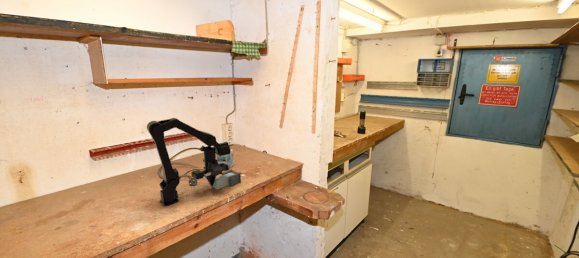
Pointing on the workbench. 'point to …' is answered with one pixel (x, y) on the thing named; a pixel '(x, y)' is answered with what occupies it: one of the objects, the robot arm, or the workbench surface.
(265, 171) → the workbench surface
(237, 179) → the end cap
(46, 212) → the workbench surface
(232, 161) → the light bulb box
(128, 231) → the workbench surface
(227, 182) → the grey rectangular block
